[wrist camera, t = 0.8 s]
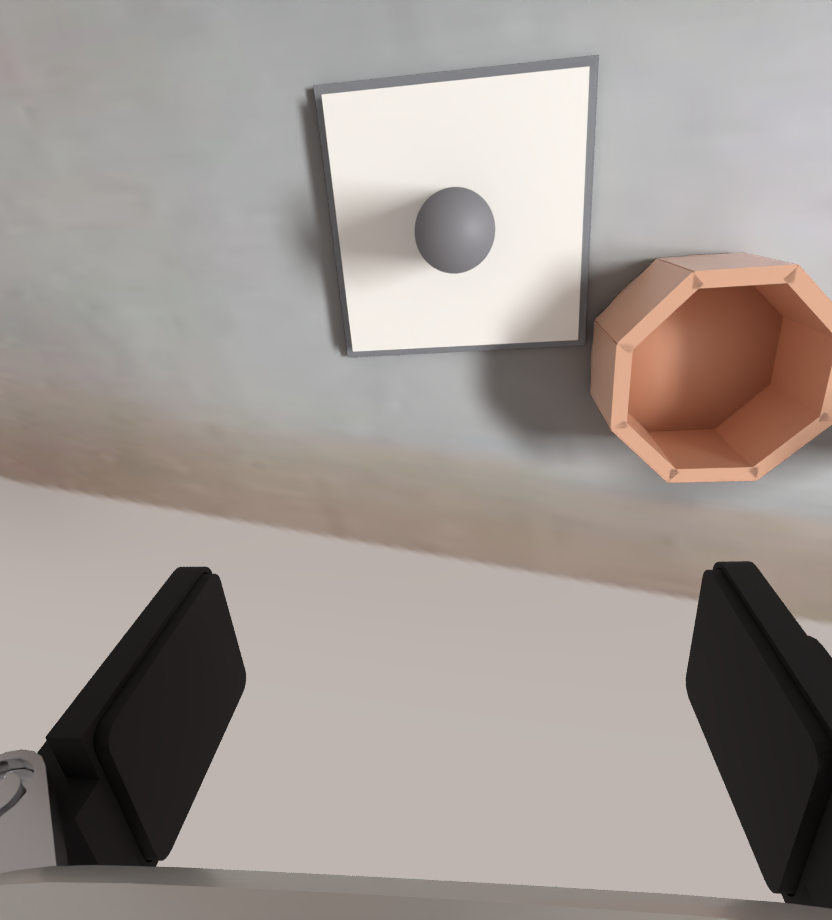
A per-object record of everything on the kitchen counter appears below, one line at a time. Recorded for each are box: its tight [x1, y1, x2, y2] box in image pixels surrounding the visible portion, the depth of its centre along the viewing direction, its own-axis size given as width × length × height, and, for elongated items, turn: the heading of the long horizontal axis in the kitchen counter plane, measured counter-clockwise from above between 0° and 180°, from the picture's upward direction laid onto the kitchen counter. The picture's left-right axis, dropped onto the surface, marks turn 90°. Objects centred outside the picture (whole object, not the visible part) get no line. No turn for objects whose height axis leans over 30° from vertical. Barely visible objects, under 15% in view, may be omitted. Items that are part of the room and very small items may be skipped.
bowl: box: [590, 252, 832, 483], centre depth 27 cm, size 10×10×6 cm
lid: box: [322, 66, 590, 352], centre depth 25 cm, size 12×12×6 cm
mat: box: [313, 55, 599, 357], centre depth 28 cm, size 13×13×1 cm
